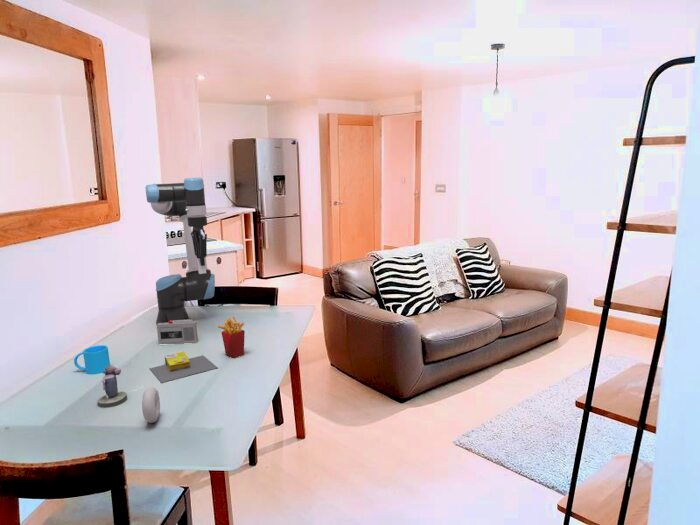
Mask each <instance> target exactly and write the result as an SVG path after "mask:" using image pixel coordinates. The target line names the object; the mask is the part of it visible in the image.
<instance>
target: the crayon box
mask: <svg viewBox="0 0 700 525" xmlns="http://www.w3.org/2000/svg"><path fill="white" fill-rule="evenodd" d="M189 359H190V357H189V356H188V355H187V354H186V352H185V351H180V352H175V353H171V354H167V355H164V363H165V365H167V367H168V369H169V371H171V370H175V369H180V368H184V367H189V366H190V363H189V362H190V360H189Z"/></svg>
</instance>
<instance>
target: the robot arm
mask: <svg viewBox="0 0 700 525" xmlns="http://www.w3.org/2000/svg"><path fill="white" fill-rule="evenodd" d="M144 188H145V194H146V195H145V196H146V201H147V203H149V204H150V206H151V208H152V210H153V212H156V213H157V214H159V215H162V216H165V217H178V218H179V221H180V222H182V225H183V232H184V234H183V235H184V241H185V242H184V243H185V249H186V258H187V267H188V270H187V271H186V272H185V276H183V275H181V274H180V273H177V274H176V273H175V274H170V275H166V276H163V277H160V278H158V279H157V280H156V282H155V291H156V300H157V307H158V308H157V309H158V311H157V315H156V321H155V323H156V324H155V325H156V326H157V324H158V323H169V322H168V321H173V320H191V319H190V318H191V317H190V316H189V314H188V311H187V309H186V307H185V302H191V301H198V300H208V299H212V298H213V297H215V287H216V278H215V276H216V275H215V273H212V270H211V269H210V268H209V267H208V265H207V256H208V255H207V254H208V253H207V252H208V250H207V243H208V242H207V239H208V235H207V233H206V231H205V229H204V227H206V226H207V225H208V219H207V218H208V217H207V216H206V215H207V205H206V197H205V184H204V179H203V178H202V177H185V178H184V180H183V182H176V183H153V184H151V183H150V184H146V185H145V187H144Z"/></svg>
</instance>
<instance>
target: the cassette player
mask: <svg viewBox="0 0 700 525" xmlns="http://www.w3.org/2000/svg"><path fill="white" fill-rule="evenodd" d="M168 322H169V323H158V324H157V327H156V331H157V340H158V345H159V344H175V345H185V344H184V343H192V344H198V342H199V335H198V325H197V320H193V318H192V319H190V320H173V321H168Z"/></svg>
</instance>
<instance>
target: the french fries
mask: <svg viewBox="0 0 700 525" xmlns="http://www.w3.org/2000/svg"><path fill="white" fill-rule="evenodd" d="M231 318H232V319H231ZM231 318H227V319H226V320H225V322H224V323H223V324H224V325H221V324H218V327H217V328H219V329H222V330H223V331H221V332H220V333H221V337H222V342H223V347H224V352H225V356H226V357H228V358H230V357H231V359H233V358H234V359H237V358H240V357H243V356H244V355H245V333H246V331H245V330H244V329H242V327H243V326H244V325H245V322H241V323H240V322H237V319H236V318H235V317H234V316H231ZM239 356H240V357H239ZM236 357H237V358H236Z"/></svg>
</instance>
